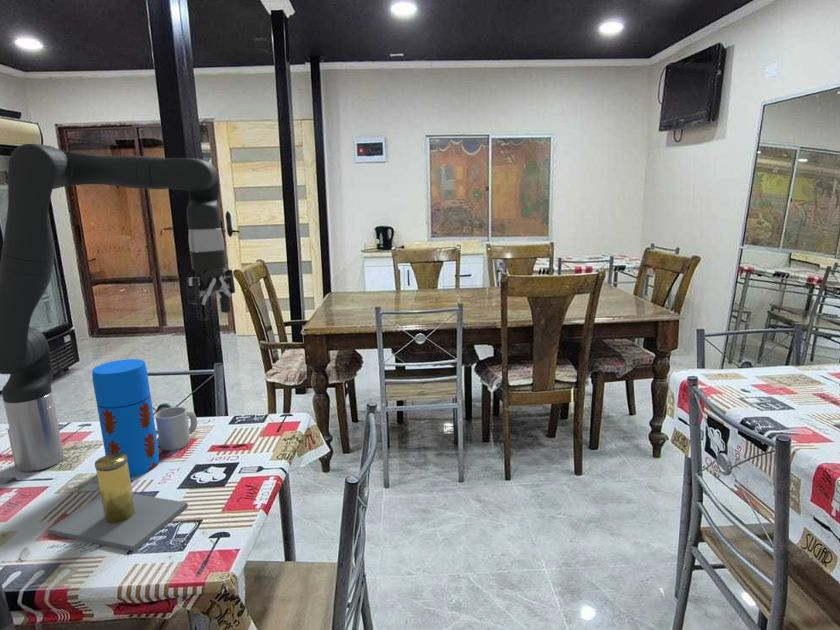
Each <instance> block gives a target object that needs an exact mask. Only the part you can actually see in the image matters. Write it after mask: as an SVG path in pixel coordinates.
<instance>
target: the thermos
mask: <svg viewBox="0 0 840 630" xmlns="http://www.w3.org/2000/svg"><path fill="white" fill-rule="evenodd" d="M91 373H92V378H91V379H92V384H93V389H94V395H95V402H96V407H97V408H96V409H97V412H98V413H97V414H98V418H99V425H100V426H99V427H100V430H101V431H100V432H101V437H102V441H103V442H102V443H103V449H104V456H106V455H109V454H114V453H124V454H126V455H127V459H128V461H127V463H128V469H129V475H130V478H132V477H133V478H134V477H138V476H141V475H143V474H146V473H148V472H151V471H153V470H154V469H155V468H156V467H157V466H158V465H159V463H160V457H159V455H160V454H159V443H158V438H157V437H158V435H157V428H156V421H155V415H154V409H153V403H152V395H151V389H150V383H149V375H148V369H147V364H146V361H145V360H142V359H138V358H128V359H127V358H126V359H118V360H113V361H108V362H105V363H102V364H100V365H97V366H95V367H93V368H92V372H91Z"/></svg>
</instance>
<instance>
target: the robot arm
mask: <svg viewBox="0 0 840 630" xmlns="http://www.w3.org/2000/svg"><path fill="white" fill-rule="evenodd" d="M7 167H8V168H7V169H8V173H7V178H8V179H7V184H8V185H7V186H8V187H7V190H8V191H7V197H8V198H7V200H8V201H7V213H6V218H5V228H4V235H3V242H2V248H1V255H0V375H9V376H8V377H9V378H8V380H7V381H6V383H5V384H4V385H3V387H2V389H1V396H2V401H3V406H4V410H5V415H6V419H7V423H8V429H7V434H8V439H9V443H10V449H11V453H12V457H13V459H12V460H13V462H14V466H15V467H17V469H18V470H19V471H21V472H25V473H26V472H35V471H36V472H37V471H40V470H44V469H47V468H50V467H53V466H55V465H57V464H59V463H60V462H61V461H62V460H64V458H65V454H64V448H63V443H62V436H61V432H60V431H61V430H60V426H59V421H58V417H57V411H56V404H55V400H54V396H53V391H52V381H53V378H54V376H53V375H54V374H53V373H54V372H53V364H52V363H53V362H52V358H51V351H50V346H49V343H48V340H47V338H46V336H45V335H44V334H43V332H42V331H40V330H39V329H37V328H36V327H32V326H30V324H31V321H32V316H33V314H34V312H35V309H36V307H38V304H39V302H40V300H41V299H42V298H43V296H44V294H45V292H46V290H47V288H48V286H49V284H50V281H51V278H52V273H53V268H54V260H55V245H54V240H53V236H52V235H53V234H52V232H51V228H50V225H49V206H50V201H51V196H52V193H53V190H56V189H60V188H64V187H72V186H73V187H74V186H83V185H103V186H104V185H107V186H113V187H114V186H115V187H120V188H129V189H143V190H168V189H171V190H178V191H179V190H180V191H187V192H188V200H189V201H188V205H187V207H186V221H187V227H188V228H187V229H188V247H189V254H190V255H189V256H190V262H191V263H190V264H191V269H192V270H194V271H195V277H193V276H191V277H190V276H187V277H186V278H185V287H186V299H187V303H188V304H191V305H194V306H195V310H196V311H195V312H196V317H197V320H198V321H199V322H205V321H208V319H209V317H208V309H207V308H208V307H207V303H206V302H207V300H208V298H209V297H210V296H211V293H215V292H216V293H217V294H218V295H219V303H220V304H219V305H220V311H221V313H226V314H227V313H230V312H231V300H230V298H231V296H232V294H235V293H236V288H235V286H236V285H235V281H234V275H233V274H234V273H233V269H227V268H226V267H227V262H226V261H227V260H226V250H225V241H224V235H223V231H222V222H221V214H220V208H219V200H220V181H219V175H218V171H217V169H216V167H215V166H214V165H213V164H212V163H211V162H209V161H207V160H203V159H201V158H195V157H194V158H193V157H192V158H191V157H167V158H165V157H160V156H152V155H151V156H150V155H149V156H148V155H131V154H130V155H124V154H123V155H96V154H95V155H93V154H84V153H78V152H74V151H69V150H64V149H59V148H57V147H53V146H50V145H46V144H45V145H44V144H38V143H24V144H20V145H19V146H17V147H16V148H15V149H13V151H12V152H11V154H10V156H9V159H8V166H7ZM225 268H226V269H225ZM228 285H229V286H228ZM193 295H194V296H193Z"/></svg>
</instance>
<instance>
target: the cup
mask: <svg viewBox="0 0 840 630" xmlns="http://www.w3.org/2000/svg"><path fill="white" fill-rule="evenodd" d="M154 414H155V415H154V418H155V425H156V432H157V437H158V438H157V439H158V442H159V443H158V445H159V447H160V449H161V450H162V451H165V452H170V451H176V450H180V449H183V448H186V447H188V445H189V444H190V442H191V435H192V434H193V433H194V432H195V431H196V430H197V427H198V419H197V416H196V415H197V414H195V412H194V411H192V410H191V409H190V410H187V408H186V407H183V406H173V407H172V406H170V407H168V408H163V409H160V410H159V411H157V412H156V413H154ZM188 417H189V419H188ZM189 420H190V426H189Z"/></svg>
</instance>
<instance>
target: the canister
mask: <svg viewBox="0 0 840 630" xmlns="http://www.w3.org/2000/svg"><path fill="white" fill-rule="evenodd" d="M127 461H128V459H127V455H126V454H124V453H114V454H109V455H104V456H102V457H100V458H98V459H97V460H95V462H94V468H95V470H96V476H97V481H98V487H99V494H100V495H101V499H102V505H103V511H104V517H105V521H106V522H108V523H119V522H122V521H125V520H127V519H129V518H131V517H132V516H133V515H134V514H135V507H134V500H133V494H134V493H133V489H132V488H133V487H132V482H131V477H130V475H129V469H128V463H127Z"/></svg>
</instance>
